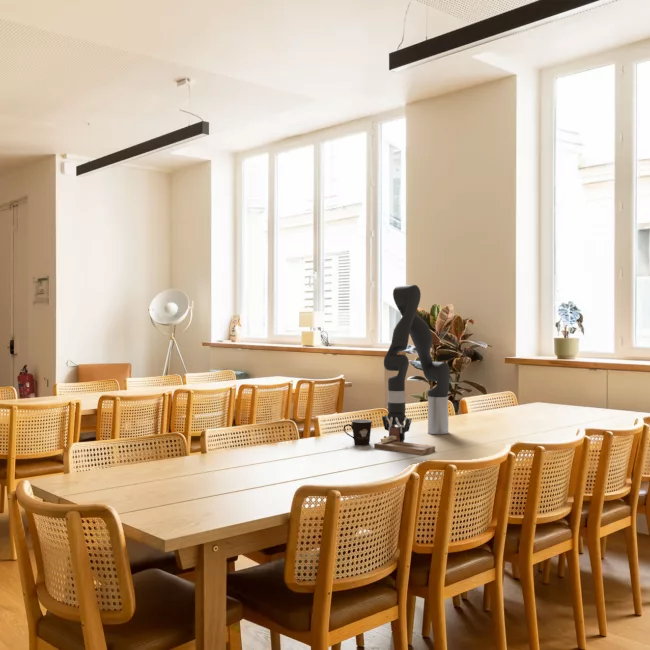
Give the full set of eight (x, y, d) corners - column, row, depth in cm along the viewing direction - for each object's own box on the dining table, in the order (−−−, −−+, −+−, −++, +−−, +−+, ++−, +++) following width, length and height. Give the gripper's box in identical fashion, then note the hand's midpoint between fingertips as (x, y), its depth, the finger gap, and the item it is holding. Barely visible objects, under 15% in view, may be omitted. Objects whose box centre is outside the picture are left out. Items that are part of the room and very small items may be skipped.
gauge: (395, 442, 308) (394, 426, 308) (403, 443, 306) (403, 427, 305) (378, 447, 298) (378, 430, 298) (387, 448, 296) (387, 431, 296)
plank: (387, 444, 305) (387, 440, 305) (434, 451, 291) (434, 446, 291) (374, 448, 297) (374, 443, 297) (422, 455, 283) (422, 449, 283)
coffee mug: (373, 442, 310) (373, 419, 310) (369, 446, 302) (369, 422, 301) (347, 441, 313) (347, 418, 313) (343, 445, 305) (342, 421, 304)
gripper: (415, 401, 303) (415, 441, 304) (387, 399, 312) (387, 438, 313) (406, 403, 298) (406, 444, 298) (377, 400, 306) (377, 440, 307)
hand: (396, 440), depth 305 cm, fingers closed on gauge, 4 cm apart
